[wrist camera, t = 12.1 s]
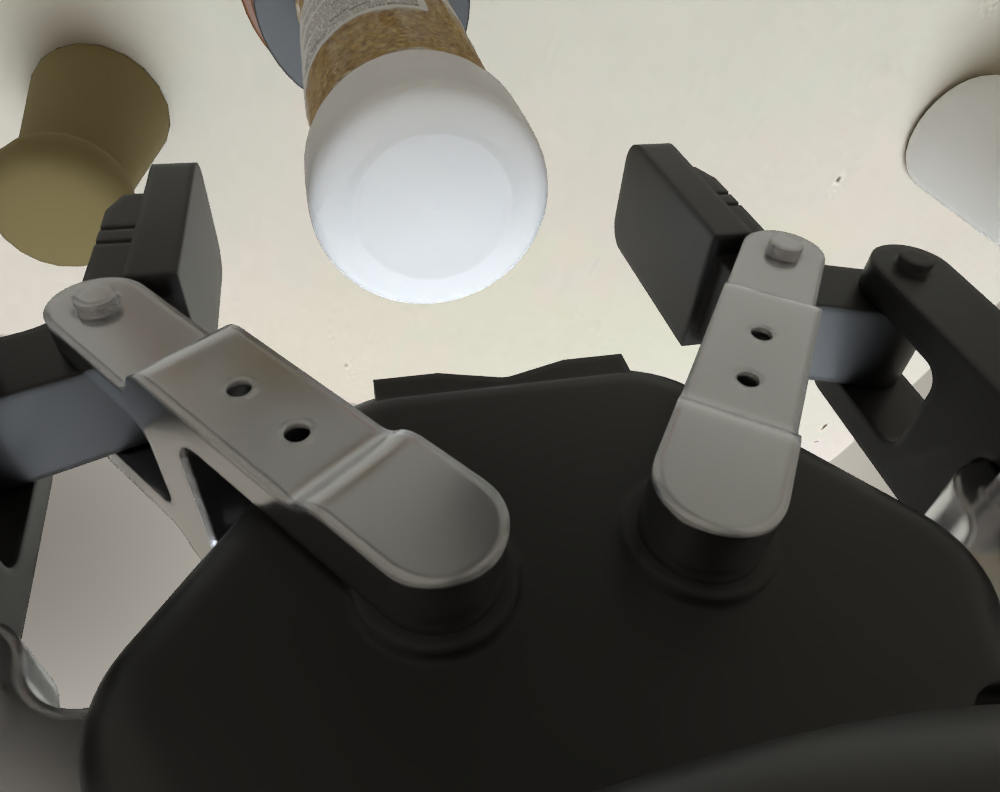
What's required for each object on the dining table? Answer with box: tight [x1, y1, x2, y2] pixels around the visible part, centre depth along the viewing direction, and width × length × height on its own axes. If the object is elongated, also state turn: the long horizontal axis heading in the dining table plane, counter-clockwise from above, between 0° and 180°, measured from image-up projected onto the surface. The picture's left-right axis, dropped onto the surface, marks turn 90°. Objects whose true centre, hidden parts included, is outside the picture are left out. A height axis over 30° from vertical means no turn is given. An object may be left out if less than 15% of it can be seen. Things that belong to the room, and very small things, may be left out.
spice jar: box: [295, 0, 548, 304], centre depth 18 cm, size 5×5×14 cm
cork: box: [0, 44, 170, 266], centre depth 31 cm, size 6×6×11 cm
